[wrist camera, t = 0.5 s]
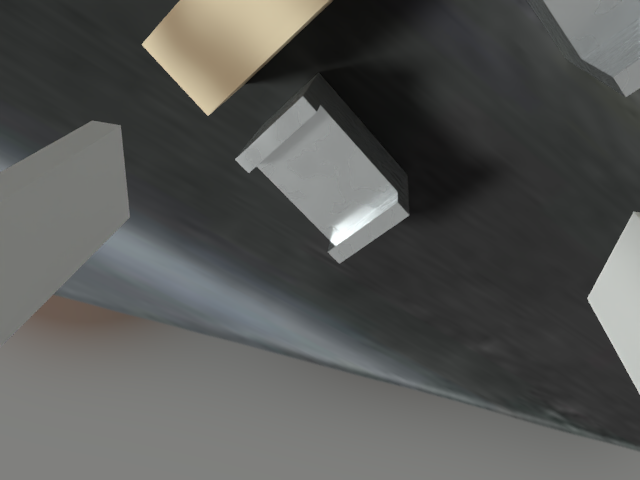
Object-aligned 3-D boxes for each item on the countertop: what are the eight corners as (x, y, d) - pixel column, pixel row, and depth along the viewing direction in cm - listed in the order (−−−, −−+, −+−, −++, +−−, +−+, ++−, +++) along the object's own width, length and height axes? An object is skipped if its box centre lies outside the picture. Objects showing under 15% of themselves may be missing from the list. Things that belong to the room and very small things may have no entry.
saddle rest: (260, 127, 36) (234, 159, 30) (318, 72, 33) (302, 96, 28) (347, 219, 39) (339, 263, 33) (407, 175, 36) (409, 215, 31)
